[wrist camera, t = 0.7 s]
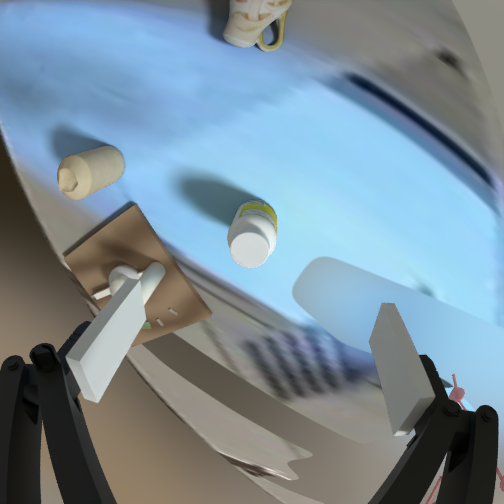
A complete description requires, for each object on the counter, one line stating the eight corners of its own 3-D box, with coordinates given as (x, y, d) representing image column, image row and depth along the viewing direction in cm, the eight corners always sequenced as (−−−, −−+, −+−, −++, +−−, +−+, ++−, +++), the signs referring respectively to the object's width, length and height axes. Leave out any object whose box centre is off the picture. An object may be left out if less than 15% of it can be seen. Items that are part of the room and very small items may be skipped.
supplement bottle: (254, 245, 41) (246, 283, 33) (227, 215, 40) (211, 246, 31) (286, 221, 40) (286, 254, 31) (258, 189, 38) (251, 214, 29)
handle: (153, 248, 42) (125, 281, 33) (174, 283, 44) (152, 321, 35) (87, 280, 45) (58, 310, 37) (107, 308, 47) (81, 342, 39)
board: (66, 256, 45) (62, 259, 44) (136, 203, 40) (132, 206, 39) (134, 343, 52) (131, 347, 51) (212, 312, 47) (210, 317, 46)
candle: (106, 190, 40) (65, 212, 31) (87, 160, 38) (43, 176, 29) (132, 168, 38) (92, 186, 29) (112, 137, 36) (68, 147, 27)
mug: (209, 47, 31) (194, -12, 21) (255, 8, 31) (252, -47, 21) (260, 69, 30) (257, 6, 20) (303, 27, 31) (310, -30, 21)
